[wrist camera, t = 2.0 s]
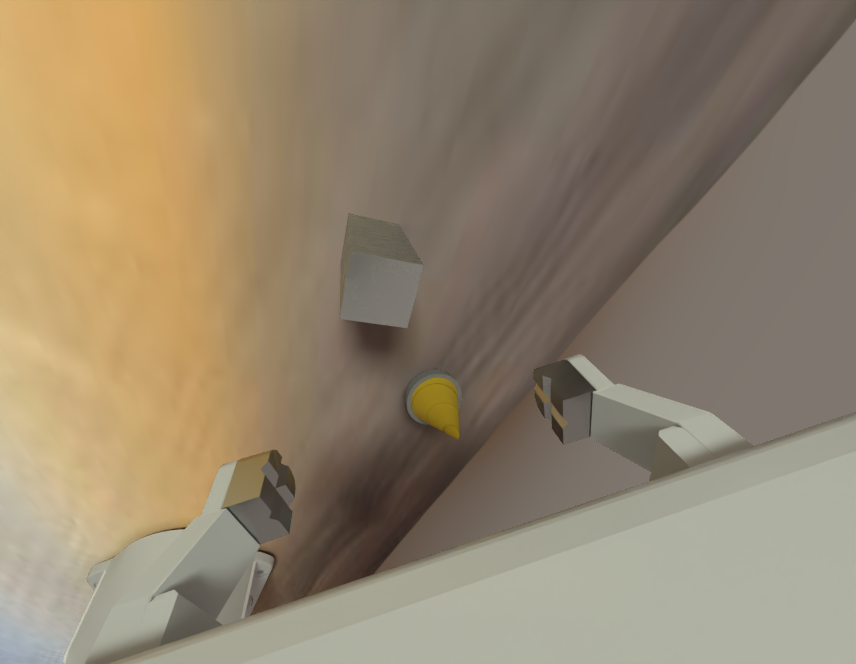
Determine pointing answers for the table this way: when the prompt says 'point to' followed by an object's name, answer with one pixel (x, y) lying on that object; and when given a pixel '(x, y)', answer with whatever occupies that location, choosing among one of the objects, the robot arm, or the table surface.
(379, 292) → the gray rectangular block
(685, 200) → the table surface
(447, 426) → the yellow cone on disc
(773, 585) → the robot arm
